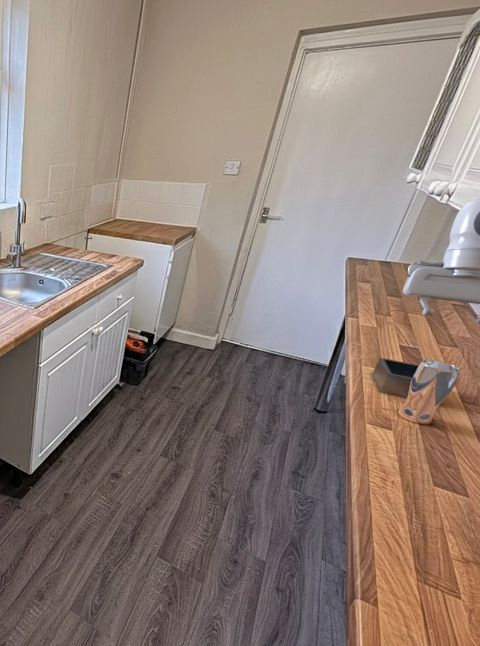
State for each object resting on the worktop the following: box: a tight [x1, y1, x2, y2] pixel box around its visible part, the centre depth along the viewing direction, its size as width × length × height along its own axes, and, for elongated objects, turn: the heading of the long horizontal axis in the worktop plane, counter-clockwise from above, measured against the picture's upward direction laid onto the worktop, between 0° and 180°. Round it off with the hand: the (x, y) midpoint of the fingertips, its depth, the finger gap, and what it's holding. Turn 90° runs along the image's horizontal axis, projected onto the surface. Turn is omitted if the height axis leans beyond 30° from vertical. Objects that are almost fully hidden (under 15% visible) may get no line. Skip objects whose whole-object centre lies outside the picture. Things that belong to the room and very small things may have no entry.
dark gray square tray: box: [372, 357, 420, 399], centre depth 116 cm, size 12×12×6 cm
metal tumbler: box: [397, 358, 462, 425], centre depth 102 cm, size 7×7×15 cm
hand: (453, 318), depth 104 cm, fingers open, 8 cm apart
